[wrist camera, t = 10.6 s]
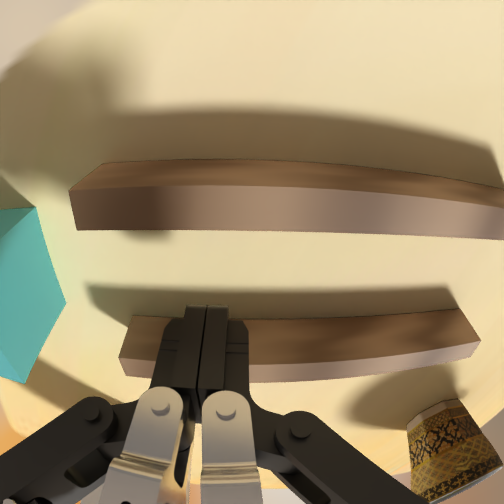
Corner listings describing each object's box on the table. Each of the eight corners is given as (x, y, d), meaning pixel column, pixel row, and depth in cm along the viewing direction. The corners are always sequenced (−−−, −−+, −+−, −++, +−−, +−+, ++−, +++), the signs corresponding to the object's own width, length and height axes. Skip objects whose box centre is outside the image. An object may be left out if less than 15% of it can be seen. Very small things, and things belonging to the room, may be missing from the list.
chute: (506, 190, 12) (541, 215, 10) (451, 325, 17) (470, 357, 15) (102, 163, 11) (68, 190, 9) (138, 334, 17) (126, 375, 14)
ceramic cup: (375, 441, 27) (393, 518, 19) (428, 392, 22) (462, 485, 14) (450, 428, 29) (471, 488, 21) (500, 381, 24) (531, 448, 16)
